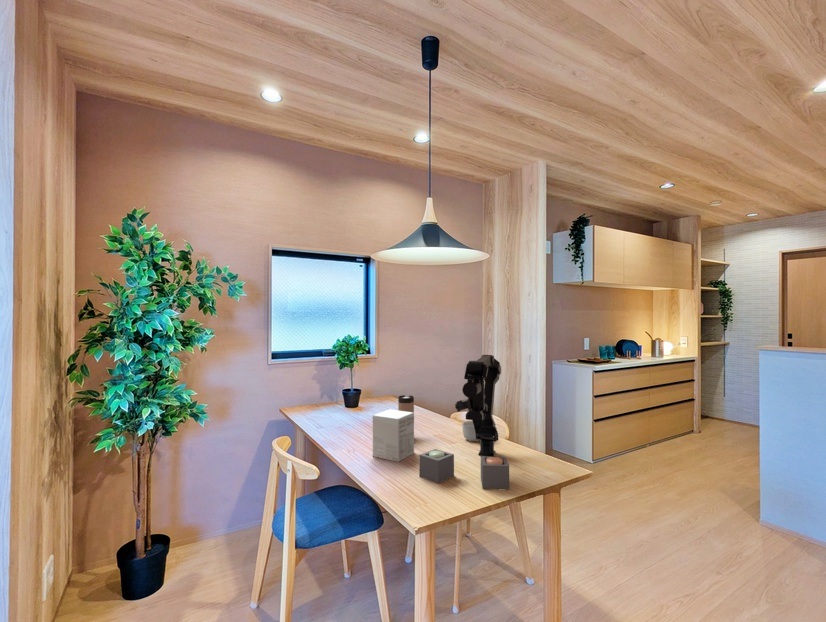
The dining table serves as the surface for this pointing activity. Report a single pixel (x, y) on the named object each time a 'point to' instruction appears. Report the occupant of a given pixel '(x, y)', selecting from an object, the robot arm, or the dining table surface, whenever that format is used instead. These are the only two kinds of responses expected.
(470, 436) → the teacup
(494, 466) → the terracotta button housing
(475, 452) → the dining table surface
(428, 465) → the grey button housing
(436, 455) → the green button
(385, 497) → the dining table surface
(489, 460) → the terracotta button
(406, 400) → the travel mug
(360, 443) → the dining table surface
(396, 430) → the supplement box
